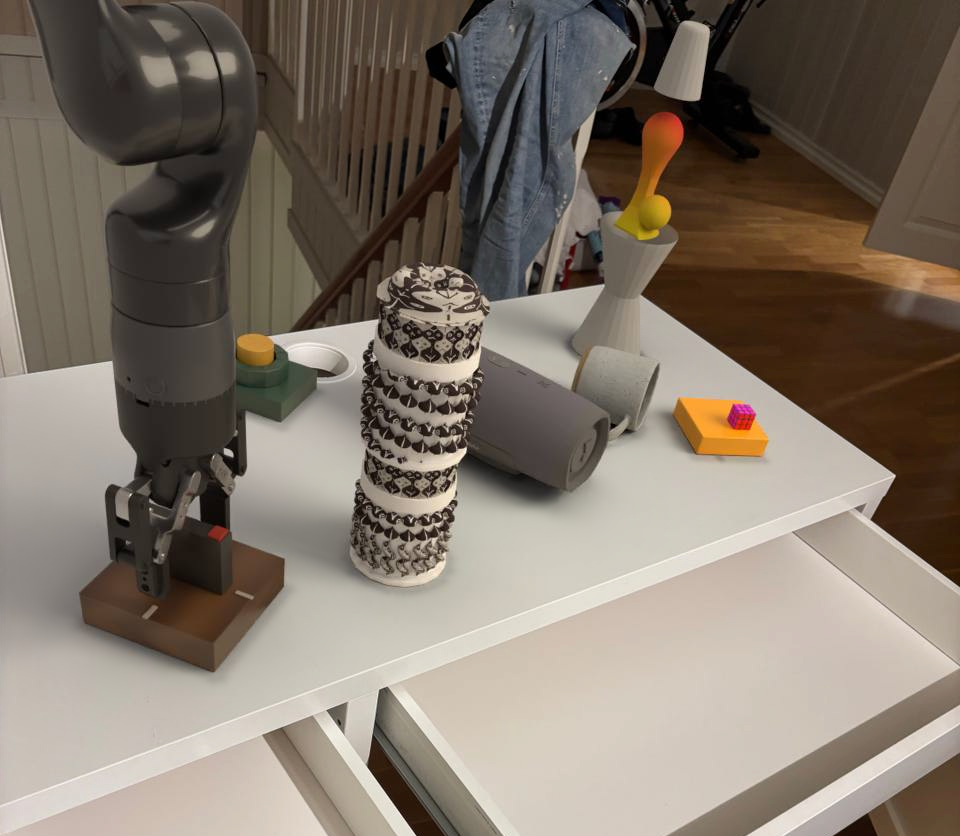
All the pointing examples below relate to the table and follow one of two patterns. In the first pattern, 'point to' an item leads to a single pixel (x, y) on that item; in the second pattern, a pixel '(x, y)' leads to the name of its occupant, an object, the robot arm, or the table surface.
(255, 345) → the button
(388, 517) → the patterned cylindrical tower
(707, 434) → the orange square block
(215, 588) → the rotary switch knob
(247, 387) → the button block
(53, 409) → the table surface
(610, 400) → the ceramic mug
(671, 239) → the lava lamp
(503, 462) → the bluetooth speaker
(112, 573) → the rotary knob block
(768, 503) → the table surface
